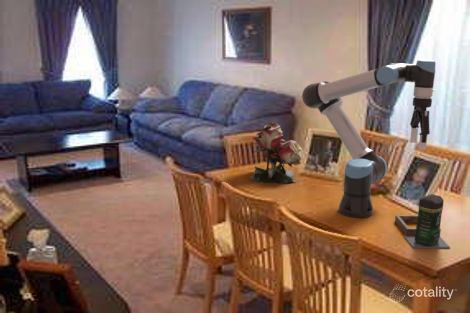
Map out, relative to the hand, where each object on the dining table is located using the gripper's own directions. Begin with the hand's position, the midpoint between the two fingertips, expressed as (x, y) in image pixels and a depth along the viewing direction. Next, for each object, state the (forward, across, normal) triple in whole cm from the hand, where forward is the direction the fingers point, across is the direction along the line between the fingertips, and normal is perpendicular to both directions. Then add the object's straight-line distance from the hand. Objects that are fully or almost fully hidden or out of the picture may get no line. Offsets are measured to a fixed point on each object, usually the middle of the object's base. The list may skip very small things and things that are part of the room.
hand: (417, 146), depth 217 cm
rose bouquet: (+31, +52, +60) cm, 86 cm away
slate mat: (+31, -31, +2) cm, 44 cm away
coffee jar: (+31, -32, +2) cm, 44 cm away
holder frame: (+31, -17, +2) cm, 36 cm away
